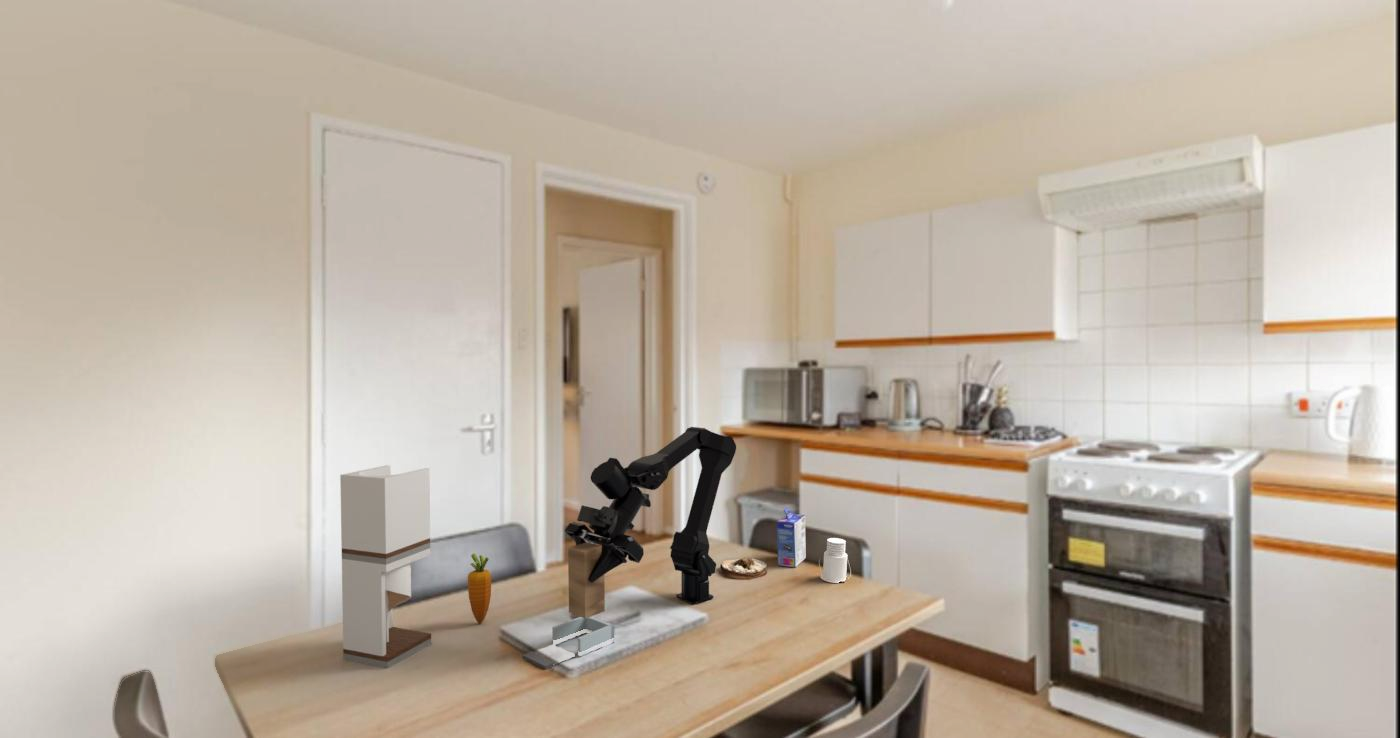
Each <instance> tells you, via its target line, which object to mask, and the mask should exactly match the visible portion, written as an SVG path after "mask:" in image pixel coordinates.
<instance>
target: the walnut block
mask: <svg viewBox="0 0 1400 738" xmlns="http://www.w3.org/2000/svg"><path fill="white" fill-rule="evenodd" d="M601 553H602V545H599V544H593V543H589V542H586V543H583V544H579V545H576V544H575V545H573V546H570V547H567V555H568V556H567V558H568V559H567V561H568V562H567V563H568V566H567V567H568V573H567V574H568V613H570V614H573V615H575V616H577V617H582V618H585V619H586V618H588V617H594V616H596V615H598V614H600V613H603V612H605V610H606V604H605V603H606V599H605V598H606V597H605V595H606V594H605V586H606V585H605V574H604V575H603V576H601V577H600V578H598V579H597V580H595V581H594V582H590V581H589V580H588V578H589V576H590V574H591V572H592V570H593V568H594V566H595V565H596V563H597V561H598V559H599V557H600V556H601Z"/></svg>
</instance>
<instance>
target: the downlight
mask: <svg viewBox="0 0 1400 738" xmlns="http://www.w3.org/2000/svg"><path fill="white" fill-rule="evenodd" d="M826 540H827V541H826V551H824V553H823V566H822V567H823V569H822V570H821V566H820V561H821V559H819V561H818V566H819V569H820V573H821V574H820V579H821V580H822V581H825V582H828V583H831V584H833V583H834V584H840V583H839V582H840V581H845V580H846V577H847V569H848V568H847V567H850V562H849V558H848V553H846V544H847V543H846V542H847V541H846V540H845V539H843V538H838V537H830V538H827V539H826ZM848 565H849V566H848ZM849 570H850V571H852V569H851V568H849ZM849 575H850V578H851V576H852V572H850V574H849Z"/></svg>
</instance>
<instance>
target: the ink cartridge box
mask: <svg viewBox="0 0 1400 738" xmlns="http://www.w3.org/2000/svg"><path fill="white" fill-rule="evenodd" d="M783 512H784V514H785V515H784V516H783V517H781V518H780V519H779V520H777V521H776V535H777V538H776V539H777V541H776V542H777V565H778V566H780V567H781V566H783V567H790V568H796V567H798V566H799V565H800V564H801V563H802V562H803V561H804V560H805V559H806V558H807V557H806V556H807V554H806V553H807V552H806V550H807V549H806V545H807V544H806V516H805V514H798V513H792V512H791V510H790V508H789V507H786V508H785V509H784V510H783Z"/></svg>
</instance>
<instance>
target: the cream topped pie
mask: <svg viewBox="0 0 1400 738" xmlns="http://www.w3.org/2000/svg"><path fill="white" fill-rule="evenodd" d="M768 568H769V567H768V564H767V563H766V562H764V561H763V560H760V559H757V558H751V557H750V558H748V557H744V558H743V557H742V558H729V559H725V560H723V561H722V562H721V564H720V567H719V569H720V571H721V572H719V573H722V574H723V575H722V577H725V578H729V579H734V580H735V579H737V580H752V579H758V578H762V577H764V576H765V577H766V575H767V573H768Z"/></svg>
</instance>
